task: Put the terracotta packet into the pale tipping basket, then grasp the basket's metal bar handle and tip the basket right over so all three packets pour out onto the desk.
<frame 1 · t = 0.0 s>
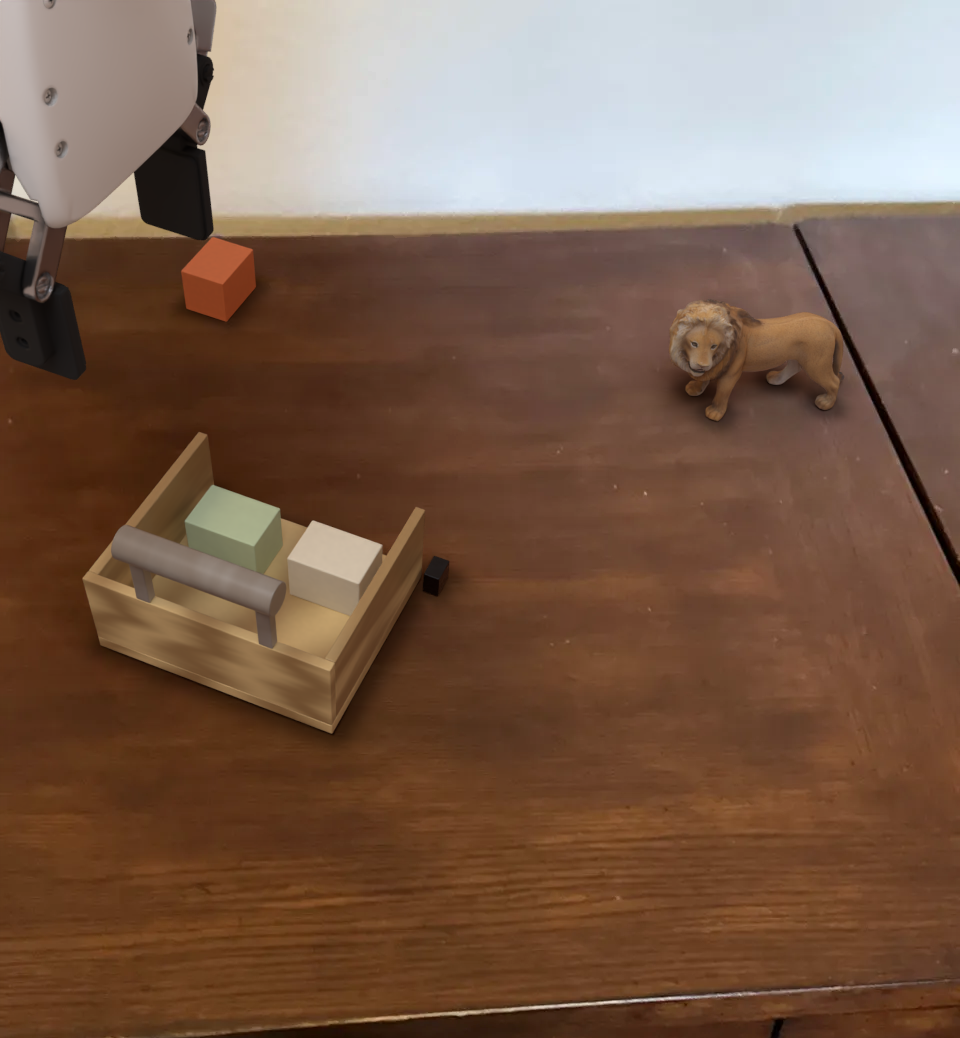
hand: (116, 293, 51), 25 cm above the table, tool pointing down, fingers open, 9 cm apart
stand: (266, 613, 72), on the table
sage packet: (237, 551, 73), point 1 cm above the table, touching basket
lion figurine: (743, 406, 86), on the table
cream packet: (336, 587, 72), point 1 cm above the table, touching basket
terracotta packet: (221, 297, 89), on the table
basket: (257, 552, 68), point 6 cm above the table, hinge at 0.0°, touching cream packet, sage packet
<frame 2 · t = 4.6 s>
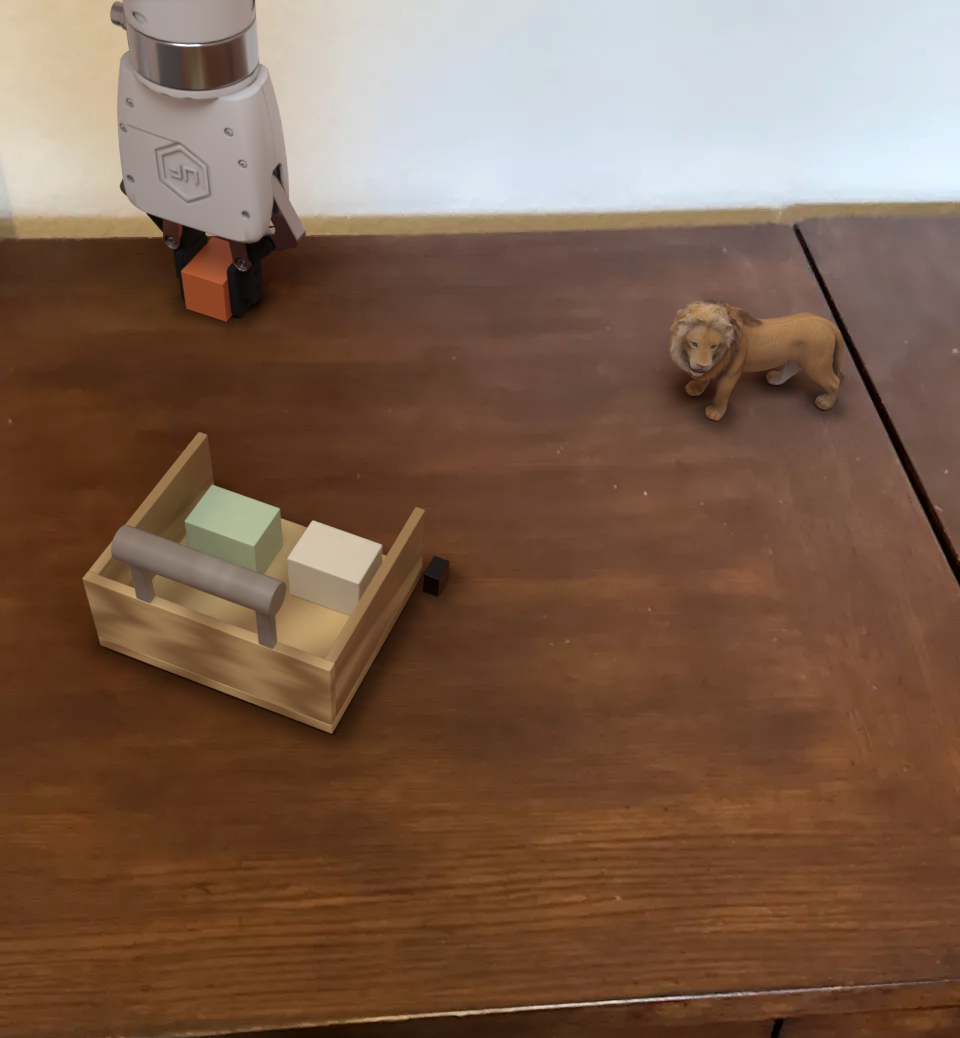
hand: (221, 295, 89), 0 cm above the table, tool pointing down, fingers closed on terracotta packet, 3 cm apart
terracotta packet: (221, 297, 89), on the table, touching gripper
everything else where it was.
when the fingers open (2 cm above the table, at t = 11.4 s): terracotta packet stays where it is, resting on basket.
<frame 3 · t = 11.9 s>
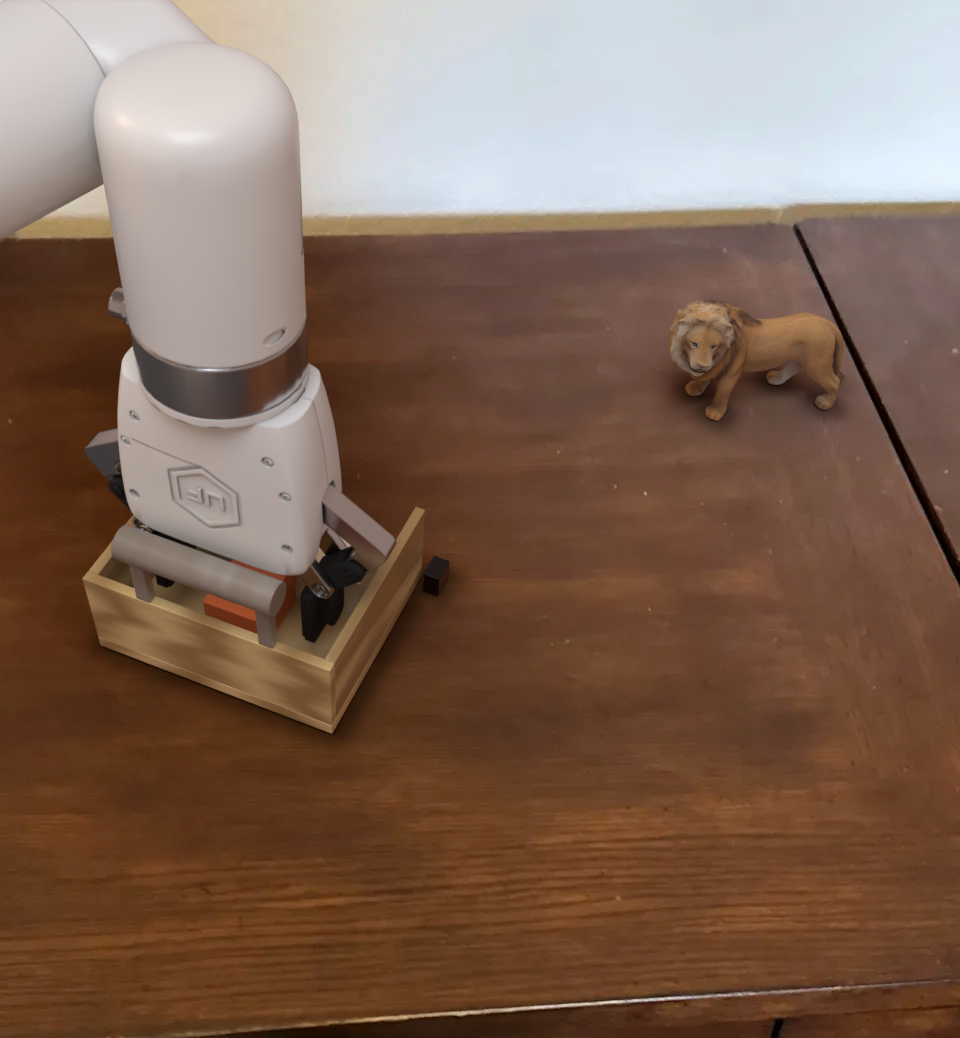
hand: (248, 594, 69), 3 cm above the table, tool pointing down, fingers open, 8 cm apart
terracotta packet: (252, 619, 71), point 1 cm above the table, touching basket
basket: (257, 552, 68), point 6 cm above the table, hinge at 0.0°, touching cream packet, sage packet, terracotta packet
everything else where it was.
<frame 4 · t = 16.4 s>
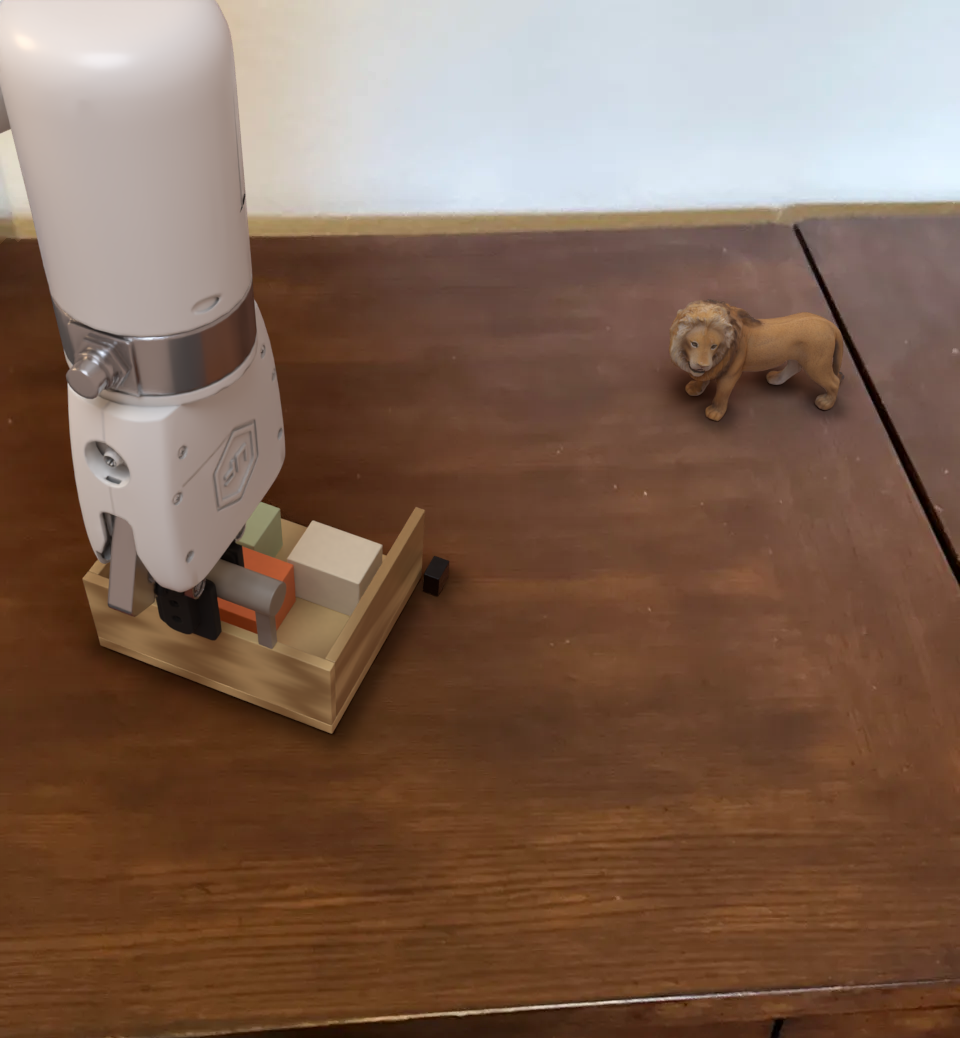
hand: (204, 607, 63), 7 cm above the table, tool pointing down, fingers closed on basket, 2 cm apart
basket: (257, 552, 68), point 6 cm above the table, hinge at -0.1°, touching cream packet, gripper, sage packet, terracotta packet
everything else where it was.
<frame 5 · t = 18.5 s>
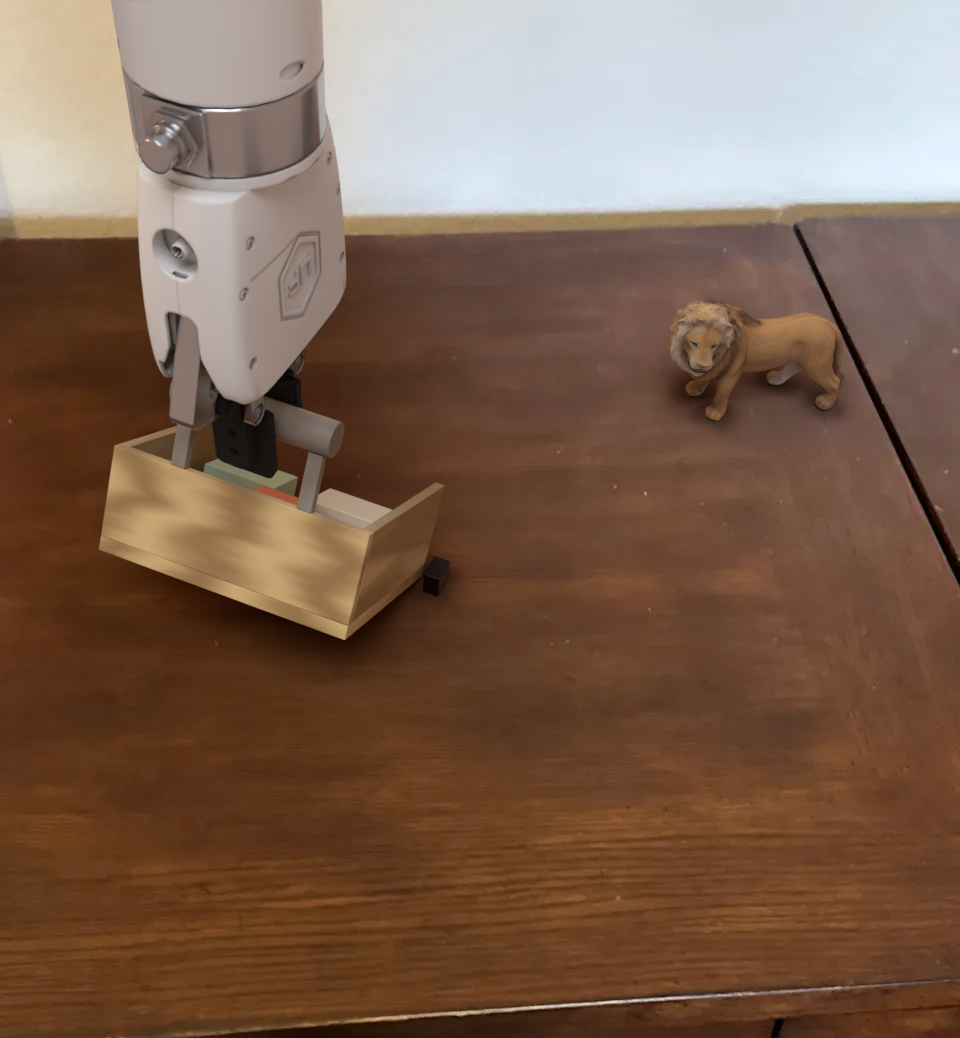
hand: (260, 447, 63), 12 cm above the table, tool pointing down, fingers closed on basket, 2 cm apart
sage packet: (242, 522, 73), point 3 cm above the table, tilted 31°, touching basket
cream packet: (342, 557, 72), point 3 cm above the table, tilted 31°, touching basket
terracotta packet: (261, 557, 68), point 5 cm above the table, tilted 31°, touching basket
basket: (286, 476, 68), point 8 cm above the table, hinge at 30.9°, touching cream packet, gripper, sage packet, terracotta packet
everything else where it was.
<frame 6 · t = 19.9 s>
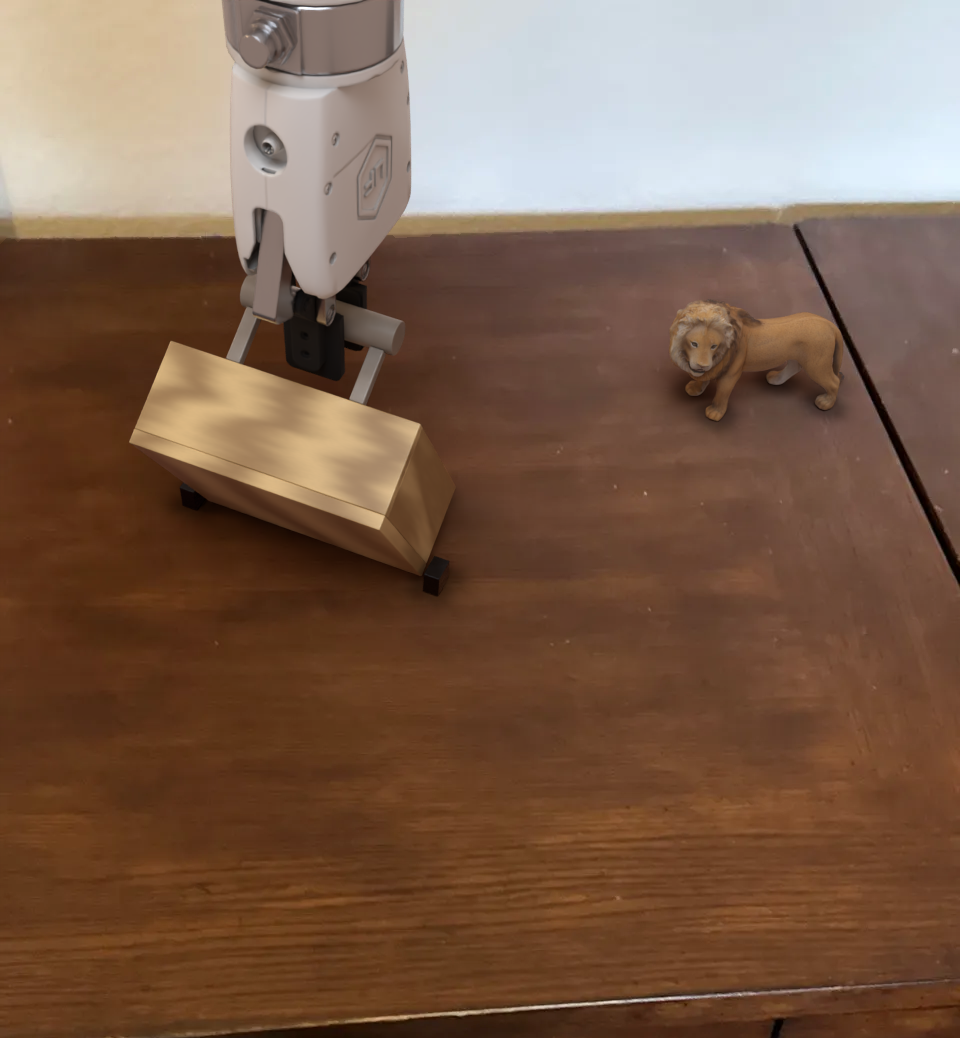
hand: (327, 353, 67), 13 cm above the table, tool pointing down, fingers closed on basket, 2 cm apart
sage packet: (282, 455, 75), point 3 cm above the table, tilted 142°, touching terracotta packet
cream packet: (396, 467, 76), point 3 cm above the table, tilted 180°
terracotta packet: (307, 509, 73), point 4 cm above the table, tilted 52°, touching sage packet
basket: (318, 424, 70), point 9 cm above the table, hinge at 58.7°, touching gripper
everything else where it was.
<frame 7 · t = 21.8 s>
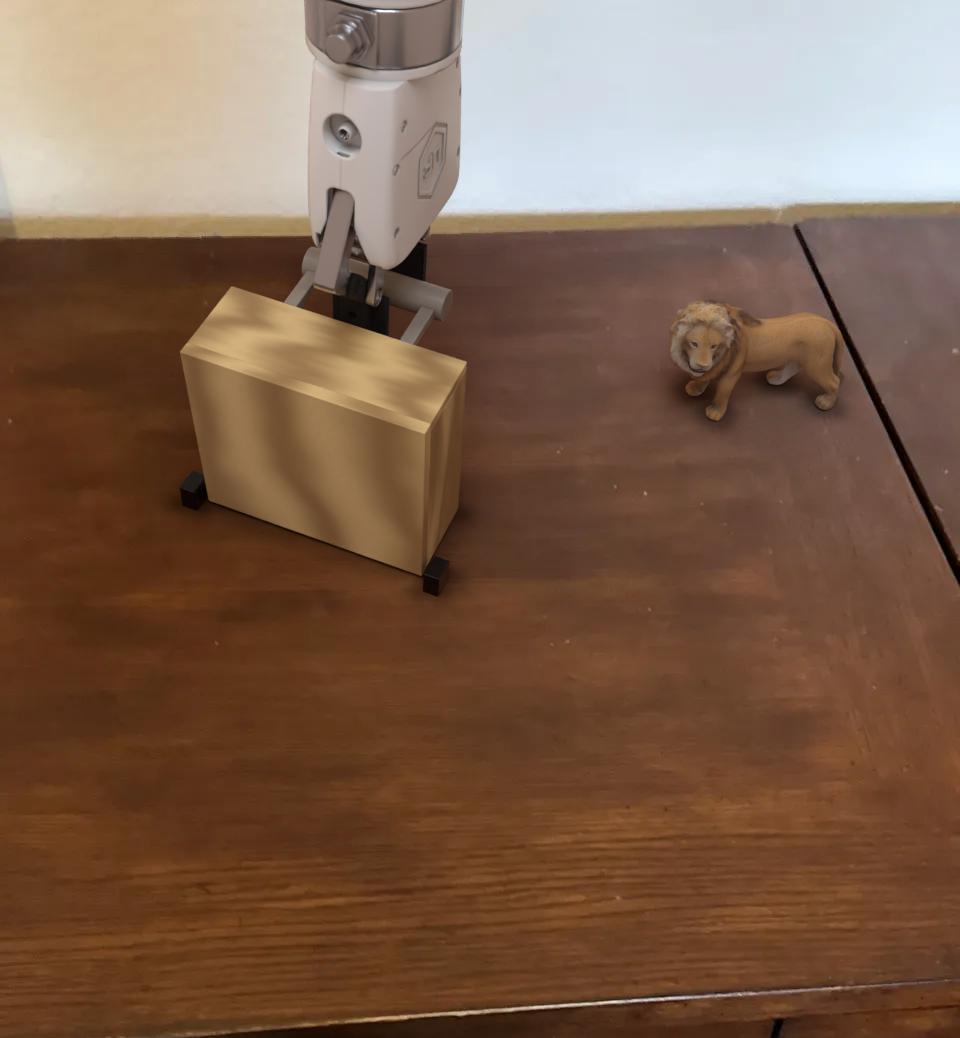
hand: (380, 319, 74), 10 cm above the table, tool pointing down, fingers open, 4 cm apart
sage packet: (300, 434, 77), point 3 cm above the table, tilted 180°, touching terracotta packet
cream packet: (397, 466, 76), point 3 cm above the table, tilted 180°, touching terracotta packet
terracotta packet: (313, 474, 72), point 5 cm above the table, tilted 85°, touching basket, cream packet, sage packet
basket: (347, 404, 73), point 7 cm above the table, hinge at 86.5°, touching gripper, terracotta packet
everything else where it was.
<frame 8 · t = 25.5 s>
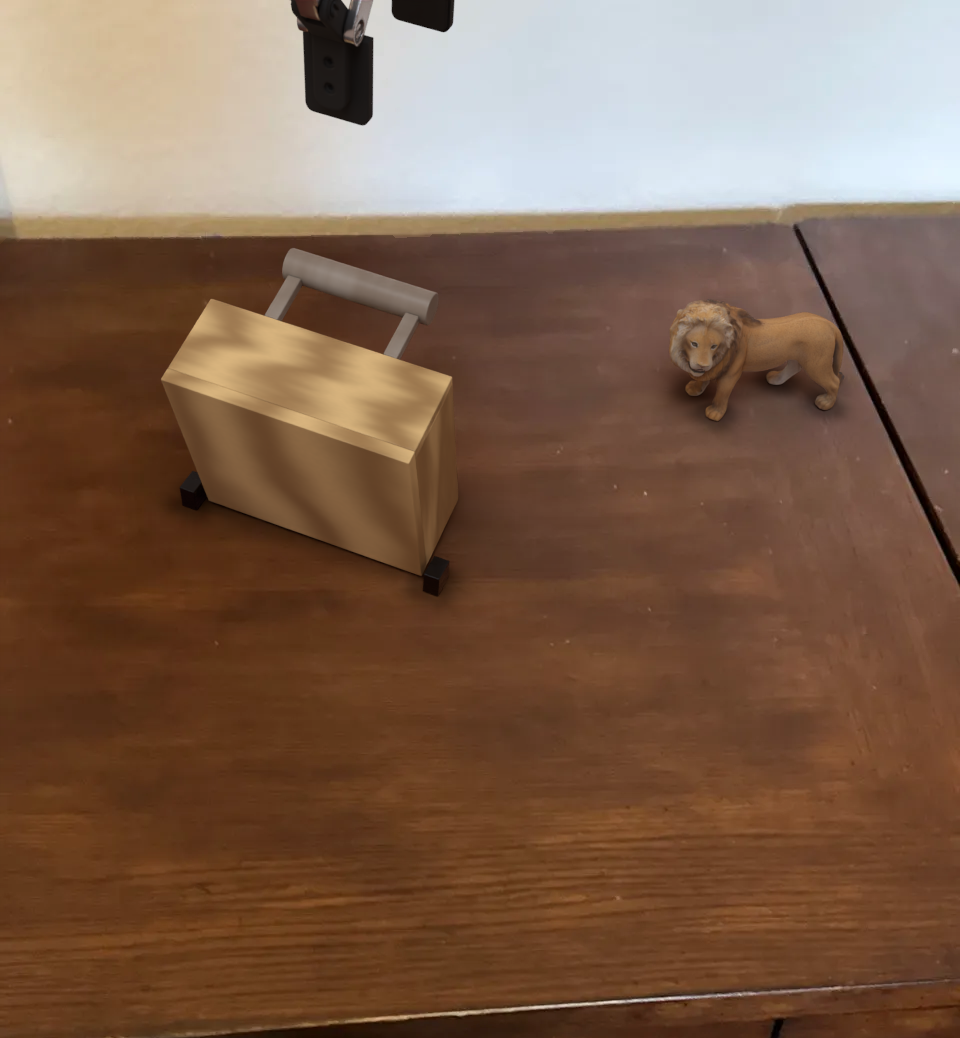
hand: (382, 67, 61), 25 cm above the table, tool pointing down, fingers open, 9 cm apart
terracotta packet: (311, 488, 73), point 4 cm above the table, tilted 69°, touching basket, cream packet, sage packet
basket: (338, 407, 72), point 8 cm above the table, hinge at 76.7°, touching terracotta packet
everything else where it was.
at the end: terracotta packet inside the target area (9.2 cm from its centre), point 4.3 cm above the table; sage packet inside the target area (5.7 cm from its centre), point 3.2 cm above the table; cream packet inside the target area (5.1 cm from its centre), point 3.2 cm above the table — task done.
